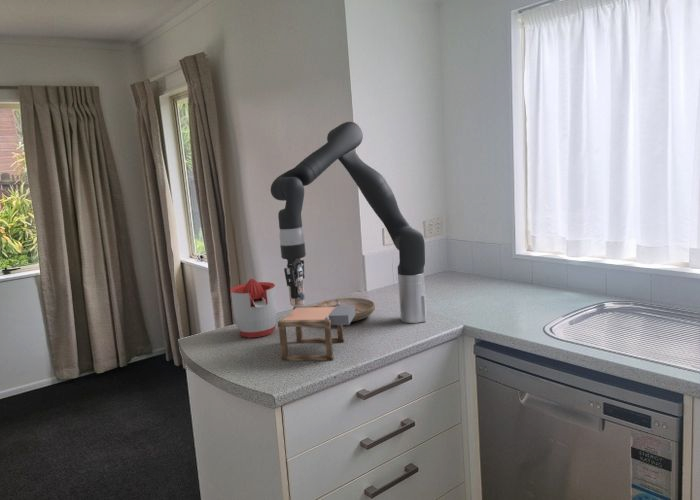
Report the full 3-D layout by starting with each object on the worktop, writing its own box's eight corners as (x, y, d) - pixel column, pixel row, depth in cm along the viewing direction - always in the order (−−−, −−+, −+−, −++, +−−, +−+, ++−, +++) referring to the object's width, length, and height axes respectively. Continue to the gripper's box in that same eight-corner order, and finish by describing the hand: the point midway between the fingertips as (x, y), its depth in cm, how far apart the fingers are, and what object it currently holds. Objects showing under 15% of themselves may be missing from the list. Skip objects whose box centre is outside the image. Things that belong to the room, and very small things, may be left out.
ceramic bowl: (302, 325, 203) (301, 311, 202) (333, 308, 224) (332, 296, 223) (358, 330, 192) (357, 316, 192) (385, 311, 213) (385, 299, 212)
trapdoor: (356, 313, 177) (355, 304, 177) (347, 326, 164) (347, 316, 163) (296, 314, 181) (295, 305, 181) (283, 327, 168) (282, 317, 167)
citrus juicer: (241, 344, 185) (235, 286, 182) (231, 331, 201) (225, 278, 198) (286, 336, 191) (281, 279, 188) (272, 324, 207) (267, 271, 204)
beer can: (299, 307, 170) (295, 269, 168) (287, 306, 173) (283, 268, 171) (308, 303, 174) (305, 265, 172) (296, 302, 176) (293, 265, 175)
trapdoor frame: (344, 340, 182) (341, 302, 180) (332, 360, 165) (329, 318, 162) (297, 340, 185) (294, 303, 183) (281, 360, 168) (277, 318, 166)
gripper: (297, 245, 162) (302, 301, 165) (310, 238, 176) (314, 290, 179) (273, 246, 164) (278, 302, 167) (287, 239, 178) (292, 290, 180)
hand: (297, 295), depth 173 cm, fingers closed on beer can, 4 cm apart
